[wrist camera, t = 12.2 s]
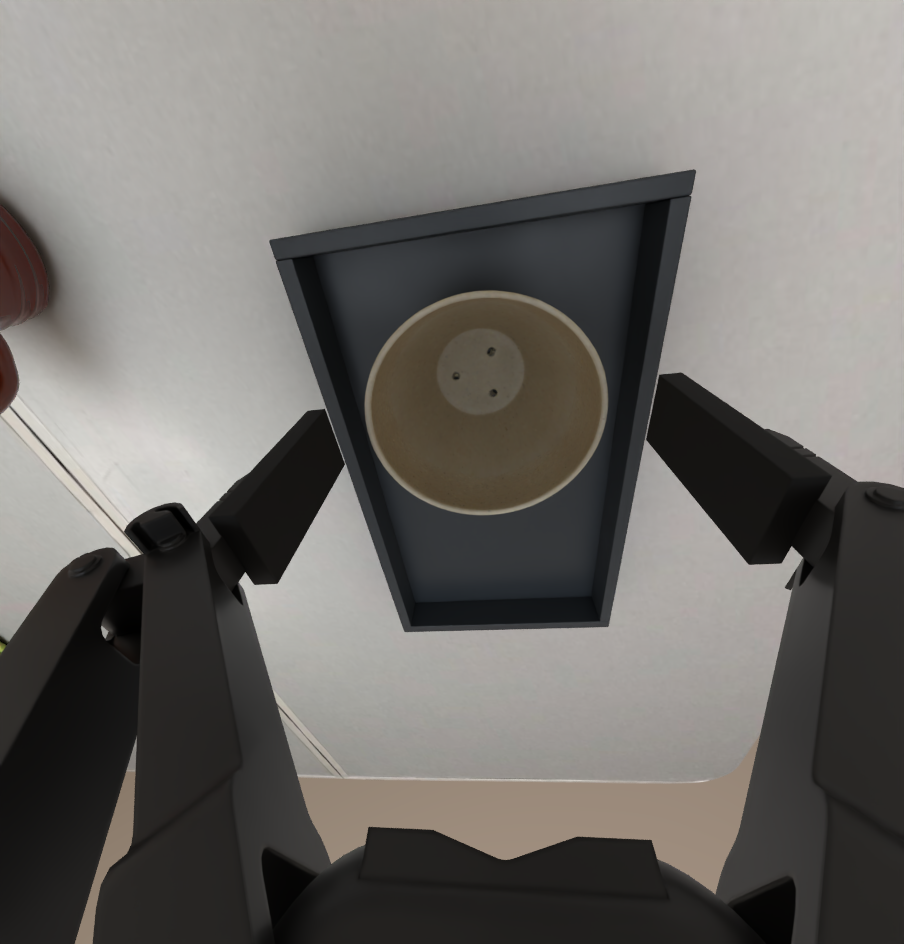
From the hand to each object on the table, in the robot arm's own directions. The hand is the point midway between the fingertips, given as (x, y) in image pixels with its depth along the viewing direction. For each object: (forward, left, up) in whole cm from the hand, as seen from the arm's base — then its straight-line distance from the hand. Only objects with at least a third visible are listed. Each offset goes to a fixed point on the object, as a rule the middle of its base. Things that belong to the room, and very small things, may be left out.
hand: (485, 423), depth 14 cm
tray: (+5, +6, -8) cm, 11 cm away
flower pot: (0, 0, -8) cm, 8 cm away
